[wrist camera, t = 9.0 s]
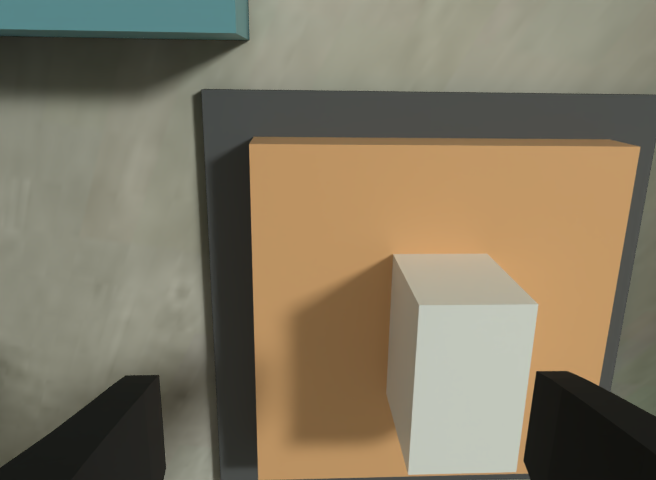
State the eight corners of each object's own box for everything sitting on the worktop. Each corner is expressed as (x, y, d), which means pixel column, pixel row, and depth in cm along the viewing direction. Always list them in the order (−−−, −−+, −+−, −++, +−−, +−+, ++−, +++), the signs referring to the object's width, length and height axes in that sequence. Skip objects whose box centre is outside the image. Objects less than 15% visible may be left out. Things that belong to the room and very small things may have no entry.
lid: (261, 447, 22) (248, 578, 16) (253, 136, 18) (234, 167, 13) (561, 440, 22) (648, 564, 17) (609, 139, 19) (739, 169, 13)
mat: (222, 479, 23) (221, 486, 22) (203, 89, 18) (201, 89, 18) (589, 470, 23) (594, 477, 23) (656, 94, 19) (664, 95, 19)
